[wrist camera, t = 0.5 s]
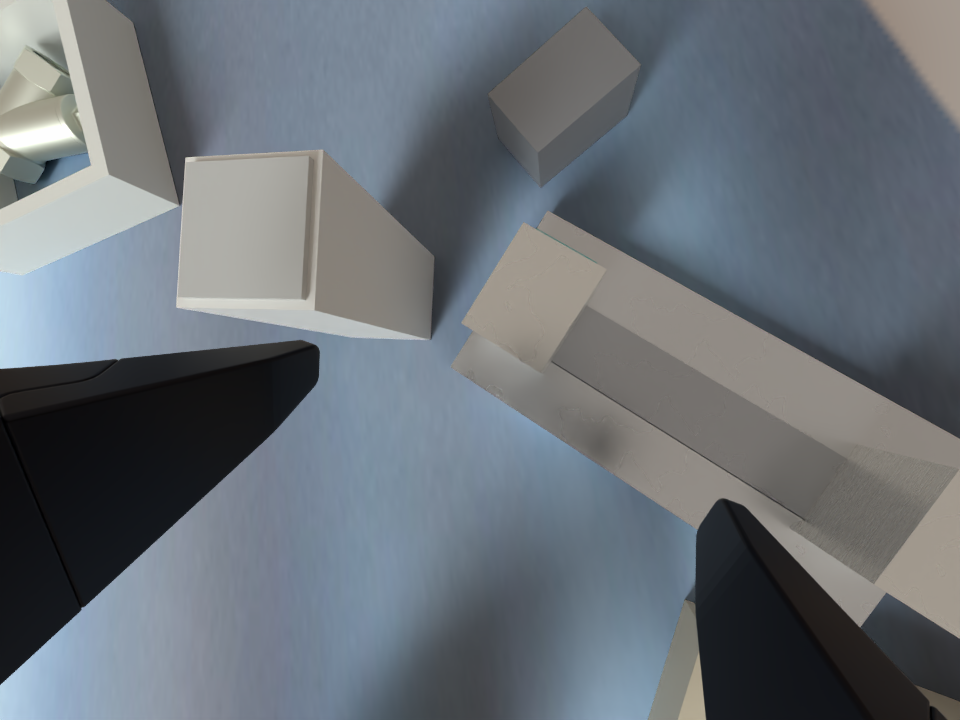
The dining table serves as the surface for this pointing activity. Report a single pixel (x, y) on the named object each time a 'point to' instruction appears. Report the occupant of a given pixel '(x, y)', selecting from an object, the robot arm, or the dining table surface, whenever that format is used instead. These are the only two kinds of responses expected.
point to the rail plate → (720, 418)
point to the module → (299, 248)
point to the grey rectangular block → (564, 97)
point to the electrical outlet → (680, 685)
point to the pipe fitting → (37, 117)
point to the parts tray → (86, 134)
